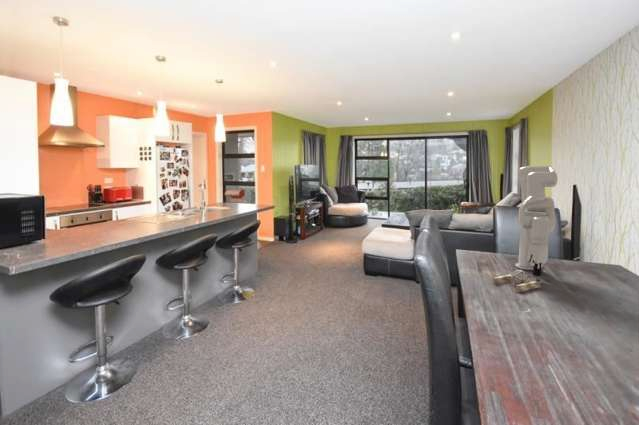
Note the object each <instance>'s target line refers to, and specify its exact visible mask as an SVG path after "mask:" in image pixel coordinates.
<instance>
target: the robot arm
mask: <svg viewBox="0 0 639 425" xmlns="http://www.w3.org/2000/svg"><path fill="white" fill-rule="evenodd" d="M517 180H518V184H519V186H520V189H521V203H520V206H519V208H518V225H519V245H518V246H519V247H518V248H519V249H518V262H517V263H515V267H516V268H518V269H520V270H522V269H524V270H528V271H533V272H532V275H533V276H535V277H538V278H540V277H541V276H542V269H543V265H545V264H546V263H547V262H548V260H549V246H548V245H549V235H550V232H553V231H554V230H555V227H556V214H555V213H556V212H555V201H554V199H553V198H552V197H549V196H546V188H553V187H554V188H555V187H556V186H557V184H558V175H557V171H555V169H554V167H552V166H550V165H528V166H522V167H520V168H519V169H518V170H517ZM526 213H527V214H526ZM531 213H532V214H531Z"/></svg>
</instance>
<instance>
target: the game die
mask: <svg viewBox="0 0 639 425" xmlns="http://www.w3.org/2000/svg"><path fill="white" fill-rule="evenodd" d="M524 270H525V269H514V268H512V273H510V274H511V276H510V277H508V278H511V280H512V281H511V282H513V283H514V286H515V287H516V285H519V284H523V283H527V281H528V279H529V278H531V276H529V275H527V273H526V272H525V271H524Z"/></svg>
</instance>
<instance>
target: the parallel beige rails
mask: <svg viewBox="0 0 639 425" xmlns="http://www.w3.org/2000/svg"><path fill="white" fill-rule="evenodd" d="M511 274H512V273H509V274H507V275H506V274H504V275H500V276H495V277H492V284H494V285H500V284H503V283H508V282H509V283H510V282H513V281H512V280H511V278H508V277H510V276H511ZM541 281H542V279H539V278H535V280H533V281H530V282H529V281H528V282H526V283H523V284H516V285H515V287H514V288H515V292H517V293H520V292H525V291H528V290H529V291H531V290H534V289H538V288H541Z"/></svg>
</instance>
